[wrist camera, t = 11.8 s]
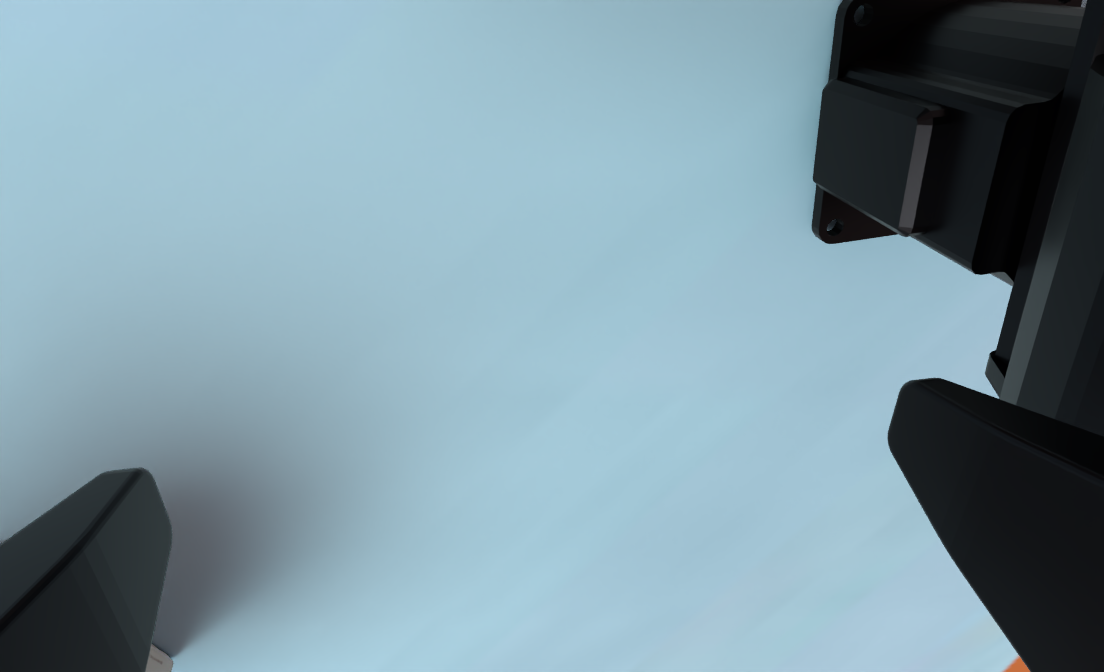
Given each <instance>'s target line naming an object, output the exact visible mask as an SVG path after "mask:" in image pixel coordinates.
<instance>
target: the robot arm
mask: <svg viewBox="0 0 1104 672" xmlns="http://www.w3.org/2000/svg"><path fill="white" fill-rule="evenodd" d="M1081 4H1082V0H843V1H842V3H841V4H840V6H839V7H838V10H837V14H836V19H835V28H834V37H833V45H832V54H831V63H830V72H829V80H828V84H827V85H826V86H825V88H824V89H823V92H822V101H821V110H820V119H819V128H818V137H817V146H816V155H815V164H814V173H813V181H814V182H815V183H816V184H817V185H816V193H815V202H814V211H813V219H812V231H813V233H814V235H815V236H816V237H818V238H819V239H820V240H822V241H823V242H825V243H827V244H836V243H842V242H849V241H856V240H863V239H869V238H876V237H883V236H889V235H896V234H899V235H901V236H905V237H908V236H911V237H912V238H914V239H916V240H918V241H919V242H921V243H923V244H924V245H926V246H928V247H930V248H931V249H933V250H935V251H937V252H938V253H940V254H942V255H943V256H945V257H947V258H949V259H950V260H952V261H954V262H955V263H957V264H959V265H961V266H962V267H964V268H966V269H968V270H969V271H971V272H973V273H974V274H980V275H983V274H989V273H990V274H992V275H993V276H995V277H997V278H999V279H1000V280H1002V281H1004V282H1006V283H1008V284H1009V285H1011V286H1013V288H1012V292H1011V295H1010V299H1009V303H1008V307H1007V311H1006V315H1005V318H1004V322H1003V326H1002V330H1001V334H1000V338H999V341H998V345H997V349H996V350H995V351H992V352H991V353H990V355H989V359H988V363H987V367H986V371H985V375H986V377H987V379H988V380H989V382H990V383H991V385H992V387H993V388H994V390H995V391H996V393H997V395H998V396H999V399H997V398H995V397H992V396H989V395H986V394H983V393H981V392H978V391H975V390H972V389H969V388H967V387H964V386H961V385H958V384H955V383H953V382H950V381H947V380H944V379H941V378H928V379H919V380H911V381H909V382H907V383H905V384H904V385H903V386H902V388H901V389H900V392H899V395H898V399H897V402H896V406H895V409H894V412H893V416H892V419H891V423H890V426H889V430H888V444H889V448H890V451H891V453H892V455H893V456H894V458H895V460H896V462H897V464H898V465H899V467H900V469H901V471H902V472H903V474H904V476H905V478H906V480H907V481H908V483H909V485H910V487H911V488H912V490H913V492H914V494H915V496H916V497H917V499H918V501H919V503H920V505H921V506H922V508H923V510H924V512H925V513H926V515H927V517H928V519H929V521H930V522H931V524H932V526H933V528H934V529H935V531H936V533H937V535H938V536H939V538H940V540H941V542H942V543H943V545H944V547H945V548H946V550H947V552H948V553H949V555H950V556H951V558H952V559H953V561H954V562H955V564H956V565H957V567H958V568H959V570H960V571H961V573H962V574H963V576H964V577H965V578H966V580H967V581H968V583H969V584H970V586H971V587H972V588H973V590H974V591H975V593H976V594H977V596H978V597H979V599H980V600H981V601H982V603H983V604H984V606H985V607H986V609H987V610H988V611H989V613H990V614H991V616H992V617H993V619H994V620H995V622H996V623H997V624H998V626H999V627H1000V629H1001V630H1002V632H1003V633H1004V634H1005V636H1006V637H1007V639H1008V640H1009V642H1010V643H1011V644H1012V646H1013V647H1014V649H1015V650H1016V652H1017V653H1018V655H1019V656H1020V657H1021V659H1022V660H1023V662H1024V663H1025V665H1026V666H1027V667H1028V669H1029V670H1030V672H1104V0H1087V4H1086V8H1084V7H1081ZM861 5H862V6H863V7H864V16H863V19H862V20H861V21H860V22H859V23H858V24H855V22H854V14H855V11H856V10H857V9H858V7H859V6H861ZM835 219H836V221H837V222H836V224H835V226H834V227H833V228H832V229H831V230H829V231H827V227H828V224H829V223H830V222H831V221H832V220H835ZM171 544H172V527H171V523H170V520H169V517H168V514H167V512H166V509H165V507H164V504H163V501H162V499H161V496H160V493H159V491H158V488H157V486H156V483H155V480H154V478H153V476H152V475H151V473H150V472H149V471H148V470H146V469H144V468H131V469H122V470H113V471H107V472H104V473H101V474H100V475H98V476H97V477H95V478H94V479H93V480H91V481H90V482H88V483H87V484H86V485H84V486H83V487H81V488H80V489H78V490H77V491H76V492H74V493H73V494H71V495H70V496H69V497H67V498H66V499H64V500H63V501H61V502H60V503H59V504H57V505H56V506H54V507H53V508H52V509H50V510H49V511H47V512H46V513H45V514H43V515H42V516H40V517H39V518H37V519H36V520H35V521H33V522H32V523H30V524H29V525H28V526H26V527H25V528H23V529H22V530H20V531H19V532H18V533H16V534H15V535H13V536H12V537H11V538H9V539H8V540H6V541H5V542H3V543H2V544H1V545H0V672H146V667H147V663H148V659H149V654H150V649H151V644H152V639H153V634H154V629H155V625H156V620H157V615H158V610H159V605H160V600H161V595H162V590H163V585H164V580H165V575H166V570H167V565H168V560H169V555H170V550H171Z"/></svg>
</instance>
